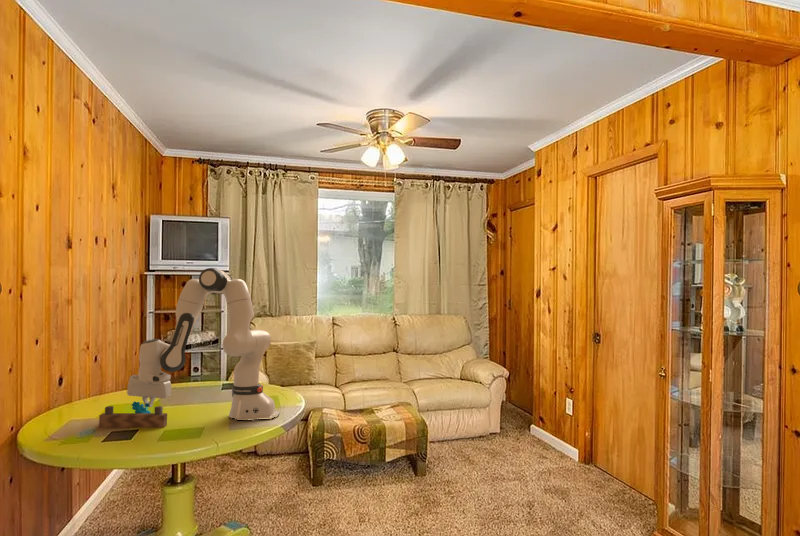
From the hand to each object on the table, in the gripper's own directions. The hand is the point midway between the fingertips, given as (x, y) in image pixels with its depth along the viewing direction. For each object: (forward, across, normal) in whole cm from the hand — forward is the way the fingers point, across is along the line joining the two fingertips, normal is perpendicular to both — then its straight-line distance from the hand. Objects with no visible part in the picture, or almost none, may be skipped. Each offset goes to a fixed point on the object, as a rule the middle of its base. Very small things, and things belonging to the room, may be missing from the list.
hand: (148, 406), depth 208 cm
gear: (+5, -1, -3) cm, 6 cm away
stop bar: (+5, +4, -13) cm, 14 cm away
